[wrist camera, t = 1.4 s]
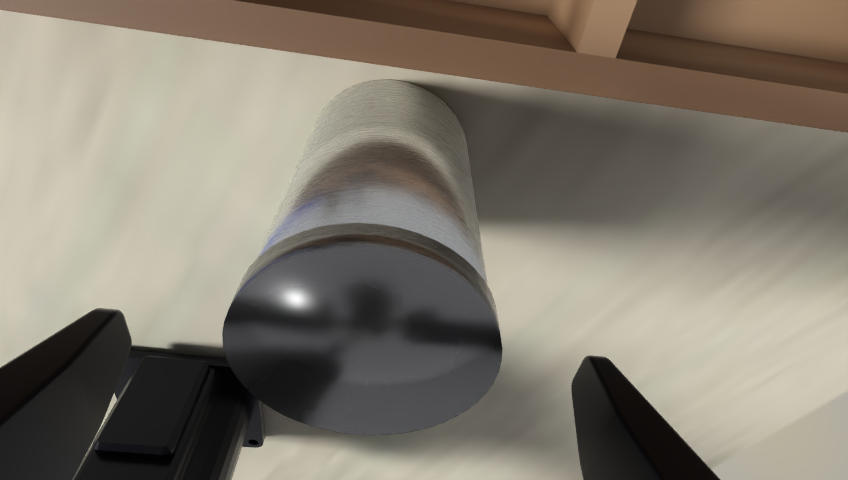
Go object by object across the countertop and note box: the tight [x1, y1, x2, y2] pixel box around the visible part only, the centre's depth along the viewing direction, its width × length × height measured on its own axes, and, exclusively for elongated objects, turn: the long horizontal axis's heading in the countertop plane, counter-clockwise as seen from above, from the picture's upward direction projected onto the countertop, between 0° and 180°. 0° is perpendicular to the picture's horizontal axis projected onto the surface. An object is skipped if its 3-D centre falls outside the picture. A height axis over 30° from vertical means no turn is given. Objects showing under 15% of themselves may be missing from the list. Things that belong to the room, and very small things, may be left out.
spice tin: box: [222, 80, 502, 435], centre depth 12 cm, size 5×5×8 cm
